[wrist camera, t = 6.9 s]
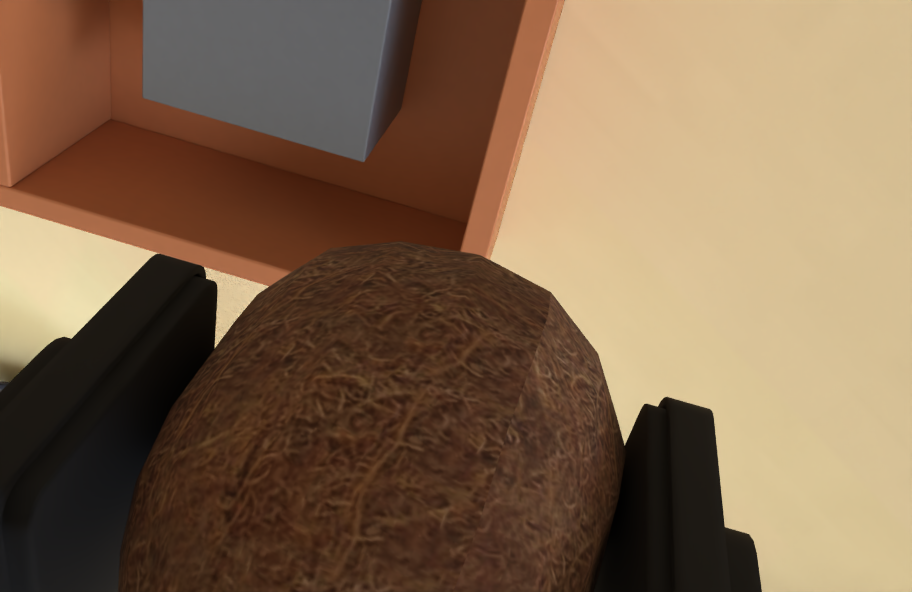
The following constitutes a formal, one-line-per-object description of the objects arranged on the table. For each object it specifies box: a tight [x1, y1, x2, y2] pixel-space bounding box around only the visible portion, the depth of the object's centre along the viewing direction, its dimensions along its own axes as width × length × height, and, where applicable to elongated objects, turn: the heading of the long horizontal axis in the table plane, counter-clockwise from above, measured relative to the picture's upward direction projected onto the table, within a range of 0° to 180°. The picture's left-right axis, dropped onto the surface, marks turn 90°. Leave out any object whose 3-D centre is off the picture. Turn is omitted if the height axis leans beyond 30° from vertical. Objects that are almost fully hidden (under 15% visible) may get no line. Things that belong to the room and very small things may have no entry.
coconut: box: [118, 241, 626, 592], centre depth 10 cm, size 5×5×8 cm
